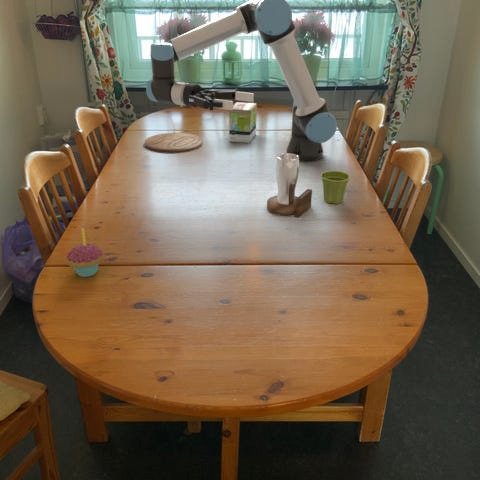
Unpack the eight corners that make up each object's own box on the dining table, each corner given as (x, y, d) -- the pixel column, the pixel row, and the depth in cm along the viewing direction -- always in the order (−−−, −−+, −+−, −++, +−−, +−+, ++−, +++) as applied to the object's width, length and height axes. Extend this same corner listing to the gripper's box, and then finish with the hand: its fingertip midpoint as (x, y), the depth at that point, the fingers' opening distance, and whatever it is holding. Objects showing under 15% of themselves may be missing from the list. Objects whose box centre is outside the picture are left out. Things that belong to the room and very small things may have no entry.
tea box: (250, 143, 222) (251, 109, 215) (228, 141, 223) (228, 108, 216) (256, 134, 235) (257, 102, 228) (235, 132, 236) (235, 101, 230)
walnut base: (260, 210, 157) (260, 193, 154) (276, 197, 166) (277, 180, 164) (297, 219, 152) (299, 201, 149) (312, 205, 161) (313, 188, 158)
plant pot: (330, 208, 159) (332, 182, 155) (313, 198, 166) (314, 173, 162) (353, 203, 163) (356, 177, 159) (335, 193, 170) (338, 169, 166)
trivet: (133, 149, 214) (133, 144, 213) (163, 134, 235) (162, 130, 234) (185, 156, 206) (185, 151, 205) (211, 140, 226) (211, 136, 225)
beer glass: (282, 196, 162) (284, 151, 155) (300, 201, 159) (303, 155, 152) (270, 203, 157) (272, 157, 150) (290, 208, 154) (292, 161, 147)
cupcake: (73, 264, 127) (66, 221, 122) (107, 262, 128) (101, 220, 122) (66, 282, 120) (58, 237, 114) (102, 280, 120) (95, 236, 115)
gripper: (208, 99, 179) (260, 105, 170) (166, 113, 160) (223, 121, 151) (207, 77, 176) (261, 83, 167) (164, 89, 157) (223, 96, 147)
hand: (243, 101), depth 159 cm, fingers open, 13 cm apart
